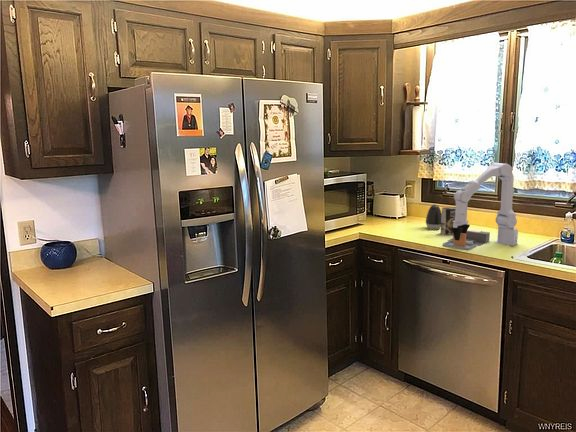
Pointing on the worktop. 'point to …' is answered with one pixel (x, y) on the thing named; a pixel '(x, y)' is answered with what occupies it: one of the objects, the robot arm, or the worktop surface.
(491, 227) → the worktop surface
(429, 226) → the dark grey egg shape
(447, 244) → the collection tray
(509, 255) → the worktop surface
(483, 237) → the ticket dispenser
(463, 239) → the end ticket
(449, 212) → the coffee box
